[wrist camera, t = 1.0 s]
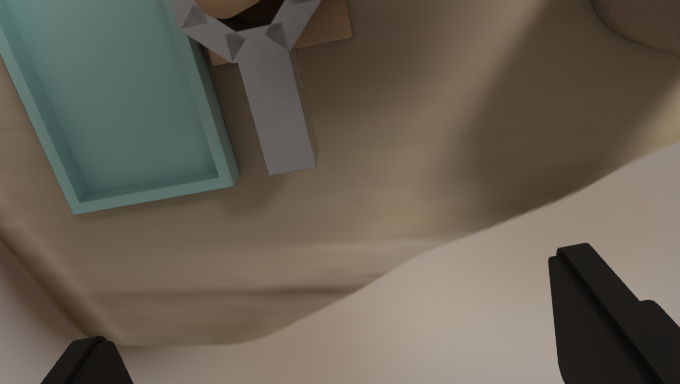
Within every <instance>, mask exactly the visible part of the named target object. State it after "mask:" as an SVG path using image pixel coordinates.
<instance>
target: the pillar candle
mask: <svg viewBox="0 0 680 384" xmlns="http://www.w3.org/2000/svg"><path fill="white" fill-rule="evenodd" d="M592 2H593V5H594V7H595V10H596V12H597V14H598V15H599V16H600V17H601V19H602V20H603V22H604V23H605V24H606V25H607V26H608V27H609V28H610V29H611V30H612V31H614V32H615V33H617V34H618V35H619V36H621V37H622V38H624V39H626V40H630V41H633V42H636V43H639V44H642V45H645V46H648V47H650V48H653V49H656V50H660V51H664V52H667V53H670V54H673V55H676V56H679V57H680V0H592Z"/></svg>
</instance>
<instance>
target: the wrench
mask: <svg viewBox="0 0 680 384" xmlns="http://www.w3.org/2000/svg"><path fill="white" fill-rule="evenodd" d="M170 1H171V4H172V7H173V11H174V14H175V17H176V20H177V23H178V26H179V29H180V30H181V31H182V32H184V33H185V34H187V35H188V36H190V37H191V38H193V39H195V40H196V41H198V42H199V43H201V44H202V45H204V46H205V47H207V48H209V49H210V50H212V51H213V52H215V53H216V54H218V55H220V56H221V57H223V58H224V59H226V60H227V61H229V62H230V63H238V65H239V69H240V73H241V76H242V80H243V83H244V87H245V91H246V94H247V98H248V101H249V105H250V109H251V112H252V116H253V119H254V123H255V127H256V130H257V134H258V137H259V141H260V145H261V148H262V152H263V155H264V159H265V163H266V166H267V170H268V173H269V176H271V175H276V174H282V173H287V172H293V171H298V170H304V169H309V168H315V167H316V164H317V158H318V152H319V148H318V144H317V140H316V135H315V131H314V127H313V122H312V118H311V114H310V109H309V105H308V101H307V97H306V92H305V88H304V84H303V79H302V75H301V71H300V66H299V62H298V58H297V54H296V49H295V45H294V44H295V42H296V41H297V39H298V38H299V36H300V34H301V33H302V31H303V29H304V28H305V26H306V25H307V23H308V21H309V20H310V18H311V16H312V15H313V13H314V11H315V10H316V8H317V7H318V5H319V3H320V2H321V0H285V1H284V2H283V4H282V6H281V8H280V9H279V11H278V13H277V14H276V16H275V17H271V18H266V19H261V20H257V21H252V22H249V21H248V20H246V19H245V18H243V17H242V16H240V15H239V14H237V15H235V16H233V17H230V18H226V19H218V18H214V17H211V16H209V15H207V14H206V13H205V12H203V11H202V10H201V9H200V8H199V6H198V5H197V3H196V2H195V0H170Z"/></svg>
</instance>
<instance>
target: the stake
mask: <svg viewBox="0 0 680 384" xmlns="http://www.w3.org/2000/svg"><path fill="white" fill-rule="evenodd" d="M284 1H285V0H195V2H196V3H197V5H198V6H199V8H200V9H201V10H202V11H203V12H205V13H206V14H207V15H209V16H211V17H214V18H218V19H226V18H230V17H233V16H235V15H237V14H239V15H240V16H242V17H243V18H245V19H246V20H248V21H249V22H252V21H257V20H261V19H266V18H271V17H275V16H276V14H277V13H278V11H279V9H280V8H281V6H282V4H283V2H284ZM352 37H353V34H352V29H351V23H350V18H349V13H348V7H347V2H346V0H321V2H320V3H319V5H318V7H317V8H316V10H315V11H314V13H313V15H312V16H311V18H310V20H309V21H308V23H307V25H306V26H305V28H304V29H303V31H302V33H301V34H300V36H299V38H298V39H297V41H296V42H295V44H294V45H295V49H299V48H304V47H308V46H313V45H318V44H323V43H328V42H333V41H338V40H343V39H347V38H352ZM208 51H209V55H210V58H211V61H212V65H213V66H216V65H221V64H226V63H230V62H229V61H227V60H226V59H224V58H223V57H221V56H220V55H218V54H216V53H215V52H213V51H212V50H210V49H209V48H208Z"/></svg>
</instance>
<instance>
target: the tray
mask: <svg viewBox="0 0 680 384" xmlns="http://www.w3.org/2000/svg"><path fill="white" fill-rule="evenodd" d="M0 54H1V57H2V59H3V61H4V63H5V65H6V68H7V70H8V72H9V74H10V76H11V79H12V81H13V83H14V85H15V87H16V90H17V92H18V94H19V96H20V98H21V101H22V103H23V105H24V107H25V109H26V112H27V114H28V116H29V118H30V121H31V123H32V125H33V127H34V129H35V132H36V134H37V136H38V138H39V140H40V143H41V145H42V147H43V149H44V151H45V154H46V156H47V158H48V160H49V162H50V165H51V167H52V169H53V171H54V173H55V176H56V178H57V180H58V182H59V184H60V187H61V189H62V191H63V193H64V195H65V198H66V200H67V202H68V204H69V206H70V209H71V211H72V213H73V215H77V214H82V213H88V212H93V211H99V210H104V209H110V208H116V207H121V206H127V205H132V204H138V203H143V202H149V201H155V200H160V199H166V198H171V197H177V196H182V195H188V194H193V193H199V192H205V191H210V190H216V189H221V188H227V187H232V186H234V185H235V183H236V181H237V179H238V177H239V175H240V172H239V169H238V165H237V162H236V159H235V155H234V152H233V149H232V145H231V142H230V139H229V135H228V132H227V129H226V125H225V122H224V119H223V116H222V112H221V109H220V106H219V102H218V99H217V96H216V92H215V89H214V86H213V82H212V79H211V76H210V72H209V69H208V66H207V62H206V59H205V56H204V53H203V49H202V46H201V43H199V42H198V41H196V40H195V39H193V38H191V37H190V36H188V35H187V34H185V33H184V32H182V31H181V30H180V29H179V26H178V23H177V20H176V17H175V14H174V11H173V7H172V4H171V1H170V0H0Z"/></svg>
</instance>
